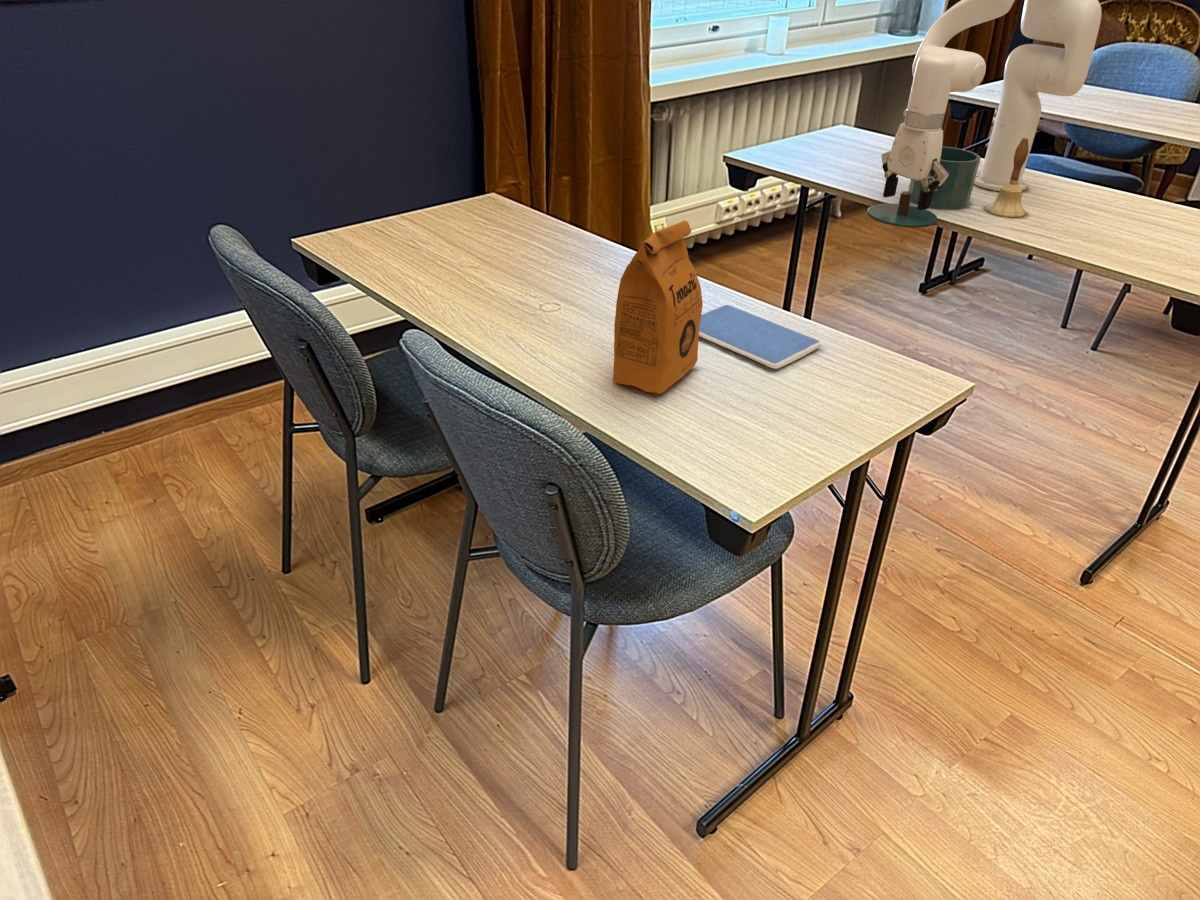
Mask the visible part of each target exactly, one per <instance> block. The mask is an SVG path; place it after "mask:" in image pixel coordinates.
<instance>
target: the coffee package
mask: <svg viewBox="0 0 1200 900" xmlns="http://www.w3.org/2000/svg"><path fill="white" fill-rule="evenodd" d="M691 233H692V229H691V226H690V223H689V221H688V220H682V221H680V222H677V223H675V224H672V225H669V226H667V227H664V228H661V229H659V230H658V229H657V230H655V231H654V232H653V233H652V234H650V235H649V236H648V237H647V238H646V239H645V240H643V242H641V245H640V246H639V248H638V250H637V251H636V253H635V254H634V256H633V257H632V258H631V260H630V261H629V263H628V264H627V265H626V267H625V269H624V271H623V273H622V276H621V277H620V281H619V286H618V290H617V291H618V292H617V296H616V297H617V298H616V303H615V304H616V305H615V316H614V332H613V333H614V335H613V339H614V341H613V369H612V370H613V372H612V373H613V376H612V381H613V382H614V383H616V384H618V385H623V386H633V387H635V388H637V389H639V390H641V391H643V392H646V393H653V394H663V393H664V392H665V391H667V390H668V389H670V388H671V386H673V385H674V384H675V383H677V382H678V381H679V380H681V379H682V378H683V377H684V376H685V375H686V374H687V373H688V372H690V370H692V369H693V368H694V367H695V366H696V364H697V363H698V356H699V355H698V354H699V353H698V351H699V339H700V336H699V326H700V321H701V315H702V314H703V304H704V303H703V295H702V287H701V283H700V281H699V277H698V275H697V272H696V269H695V266H694V265H693V263H692V261H691V260H690V257H689V251H688V249H687V244H686V241H685V240H684V238H686V237H688V236H689V235H690V234H691Z"/></svg>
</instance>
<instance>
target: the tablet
mask: <svg viewBox="0 0 1200 900" xmlns="http://www.w3.org/2000/svg"><path fill="white" fill-rule="evenodd" d="M699 338H702V339H704V340H707V341H709V342H712V343H714V344H716V345H718V346H720V347H722V348H725V349H728V350H729V351H732V352H735V353H737V354H739V355H742V356H743V357H746V358H748V359H750V360H753V361H755V362H757V363H759V364H762V365H763V366H766V367H768V368H771V369H780V368H782V367H784V366H786V365H789V364H791V363H794V362H795V361H797V360H799V359H801V358H803V357H805V356H807V355H809V354H811V352H814V351H816V350H817V349H819V348H820V347H821V346H822V342H821V341H820V340H819V339H816V338H813V337H812V336H809V335H806V334H803V333H801V332H798V331H795V330H793V329H791V328H788V327H786V326H784V325H780V324H778V323H777V322H776V323H775V322H772V321H770V320H768V319H766V318H763V317H760V316H758V315H755V314H753V313H750V312H748V311H745V310H743V309H741V308H738V307H735V306H732V305H730V304H724V305H721V306H719V307H717V308H715V309H711V310H709V311H707V312H704V313H701V321H700V326H699Z"/></svg>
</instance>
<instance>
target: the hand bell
mask: <svg viewBox="0 0 1200 900" xmlns="http://www.w3.org/2000/svg"><path fill="white" fill-rule="evenodd" d="M1028 149H1029V147H1028V139H1027V138H1022V140H1021V142H1020V144H1019V145H1018V147H1017V149H1016V151H1015V155H1014V168H1013V172H1012V175H1011V178H1010V182H1009V184H1007V185H1004V186H1002V187H1001V189H1000V191H998V192H999V193H998V194H997V196H996V197H995V199H994V200H993V201H992V202H991V203H990V204H988V205H987V206H986V207H985V211H987V212H988V213H990V214H991V215H995V216H998V217H999V216H1000V217H1005V218H1021V217H1024V216H1025V215H1026V210H1025V209H1024V207H1023V204H1022V198H1023V197H1022V195H1023V191H1022V188H1021V187H1019V186H1018V185H1017V184H1018V180H1019V175H1020V171H1021V168H1022V166H1023V164H1024V162H1025V160H1026V158H1027V155H1028Z"/></svg>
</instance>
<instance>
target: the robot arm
mask: <svg viewBox="0 0 1200 900" xmlns="http://www.w3.org/2000/svg"><path fill="white" fill-rule="evenodd" d="M1015 1H1016V0H960V1H958V2H956V3H955V4H954V5H952V6H951V7H950V8H949V9H947V10H946V11H945V12H944V13H942V14H941V15H940V16H939V17H938V18H937V19H936V20H935V21H934V22H933V23H932V25H931V26H930V27H929V29H928V31H927V32H926V34H925V36H924V38H923V40H922V42H921V43H920V45H919V47H918V49H917V52H916V54H915V57H914V60H913V62H912V67H911V75H912V77H913V79H912V83H911V88H910V93H909V97H908V103H907V107H906V108H905V109H904V110H903V112H902V115H903V116H904V122H901V123H900V124H899V127H898V129H897V131H896V133H895V136H894V139H893V142H892V145H891V149H890V151H887V152H884V153H882V154H881V157H880V158H881V162H882V166H881V167H882V170H883V172H884V175H883V177H884V179H885V184H884V188H883V193H882V197H883V198H890V197H891V198H892V197H895V196H896V194H897V190H898V189H897V187H898V185H899V177H898V176H901V177H904V178H906V179H909V180H911V179H912V180H915V181H921V183H922V186H923V189H924V191H921V193H920V198H919V202H918V204H917V205H916V207H917V209H918V210H924V209H926V210H929V209H930V208H931V207H930V204H931V201H932V197H933V192H934V191H935V190H937V188H939V187H940V186H942V185H943V182H944V181H945V180H946V179H947V177H948V176H949V174H948V172H947V171H946V170H945V169H944V168H943V167H942V165H941V164H940V158H941V152H942V147H943V142H944V130H943V124H944V119H945V115H946V111H947V106H948V102H949V98H950V94H951V93H967V92H971V91H972V90H974V89H976V88H977V87H978V86H979V85H980V84H981V83H982V81H983V80H984V78H985V75H986V71H987V70H986V69H987V64H986V61H985V58H983V56H981V55H980V54H979V53H976V52H973V51H967V50H961V49H956V48H950V47H945V46H946V45H947V44H948V43H949V41H951V40H952V39H953V37H955V36H956V35H958V34H959V33H960V32H962V31H965V30H966V29H969V28H971V27H975V26H977V25H980V24H983V23H986V22H990V21H992V20H995V19H998V18H1001V17H1003V16H1004V15H1006V14H1008V13H1009V12H1010V10H1011V9H1012V6H1013V5H1014V2H1015ZM1023 2H1024V3H1023V8H1022V14H1021V18H1020V19H1021V20H1020V32H1021V34H1022V36H1024V37H1026V38H1028V39H1031V40H1036V41H1043V42H1048V43H1055V44H1063V45H1064V47H1056V46H1052V45H1044V44H1038V43H1026V44H1021V45H1019V46H1017V47H1015V48H1014V49H1013V50H1012V51H1010V53H1009V54H1008V56H1007V59H1006V61H1005V65H1004V70H1003V83H1002V88H1001V89H1002V90H1001V95H1000V100H999V104H998V108H997V111H996V116H995V120H994V123H993V126H992V130H991V133H990V137H989V141H988V144H987V149H986V151H985V156H984V160H983V161H982V162H981V171H980V173H977V174H976V178H975V181H974V185H975V186H977V187H980V188H983V189H986V190H990V191H995V192H1000V189H1001V187H1002V186H1004V185H1007V184H1009V182H1010V178H1011V175H1012V172H1013V168H1014V155H1015V151H1016V149H1017V147H1018V145H1019V144H1020V142H1021V140H1022V138H1027V139H1028V147H1029V149H1028V155H1027V158H1026V160H1025V162H1024V164H1023V166H1022V168H1021V171H1020V175H1019V180H1018V184H1017V185H1018V186H1019V187H1021V188H1022V192H1023V191H1025V190H1026V189H1027V187H1028V182H1027V181H1026V180H1025V179H1023V177H1024V173H1025V170H1026V167H1027V164H1028V160H1029V156H1030V152H1031V150H1032V147H1033V143H1034V139H1035V136H1036V133H1037V130H1038V126H1039V123H1040V119H1041V116H1042V103H1041V98H1040V96H1039V93H1041V94H1047V95H1053V96H1058V97H1071V96H1074V95H1076V94H1077V93H1079V91H1080V90H1081V89H1082V88H1083V86H1084V85H1085V82H1086V80H1087V77H1088V74H1089V70H1090V66H1091V63H1092V58H1093V54H1094V50H1095V46H1096V42H1097V38H1098V35H1099V32H1100V31H1099V30H1100V25H1101V22H1102V6H1101V3H1100V1H1099V0H1024V1H1023ZM936 174H937V175H938V177H937V179H936V181H935V176H936ZM928 181H929V183H928ZM929 184H930V185H929Z"/></svg>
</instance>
